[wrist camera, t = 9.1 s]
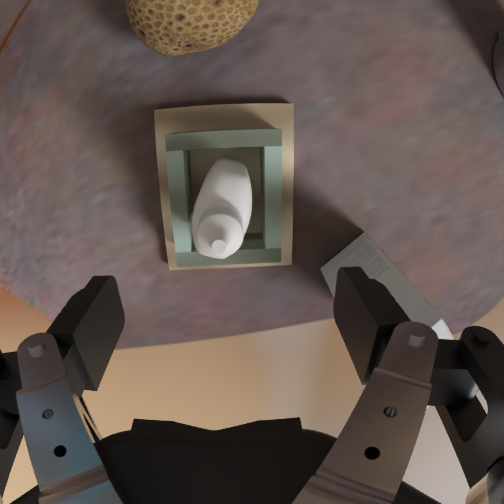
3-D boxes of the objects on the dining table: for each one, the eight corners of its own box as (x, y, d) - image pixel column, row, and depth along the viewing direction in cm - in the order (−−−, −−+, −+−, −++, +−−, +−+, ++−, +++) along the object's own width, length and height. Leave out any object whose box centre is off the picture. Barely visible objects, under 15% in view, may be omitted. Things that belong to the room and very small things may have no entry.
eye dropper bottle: (181, 196, 26) (146, 257, 15) (228, 146, 24) (226, 170, 14) (219, 230, 27) (213, 311, 16) (267, 183, 26) (295, 235, 15)
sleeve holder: (156, 110, 24) (142, 109, 20) (291, 104, 24) (303, 101, 20) (171, 265, 29) (162, 289, 25) (289, 260, 30) (299, 283, 26)
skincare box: (400, 281, 32) (476, 373, 18) (357, 316, 33) (414, 421, 20) (361, 227, 29) (449, 316, 15) (312, 268, 30) (367, 380, 17)
